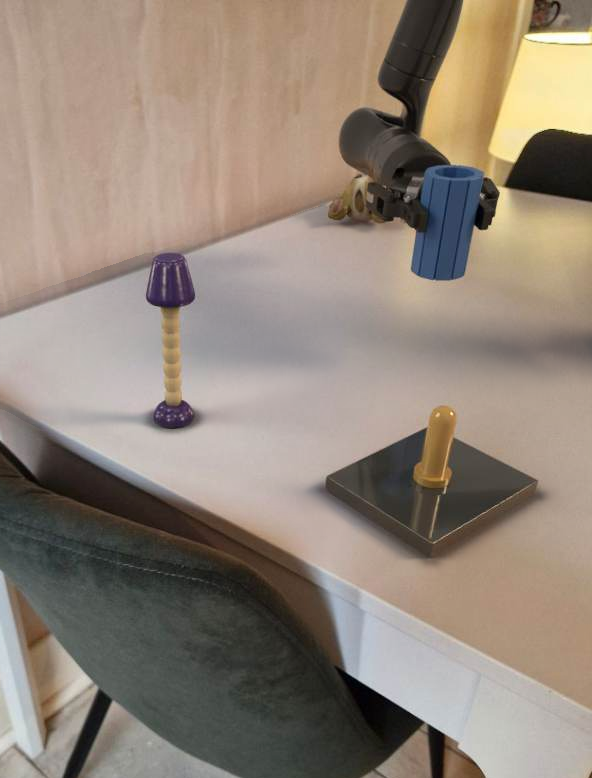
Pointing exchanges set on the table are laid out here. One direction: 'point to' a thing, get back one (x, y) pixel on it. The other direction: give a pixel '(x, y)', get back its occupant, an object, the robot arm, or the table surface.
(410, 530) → the yellow peg on plate
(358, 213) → the ceramic sculpture
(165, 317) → the toy lamp
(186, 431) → the table surface
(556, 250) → the table surface
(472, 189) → the sleeve
